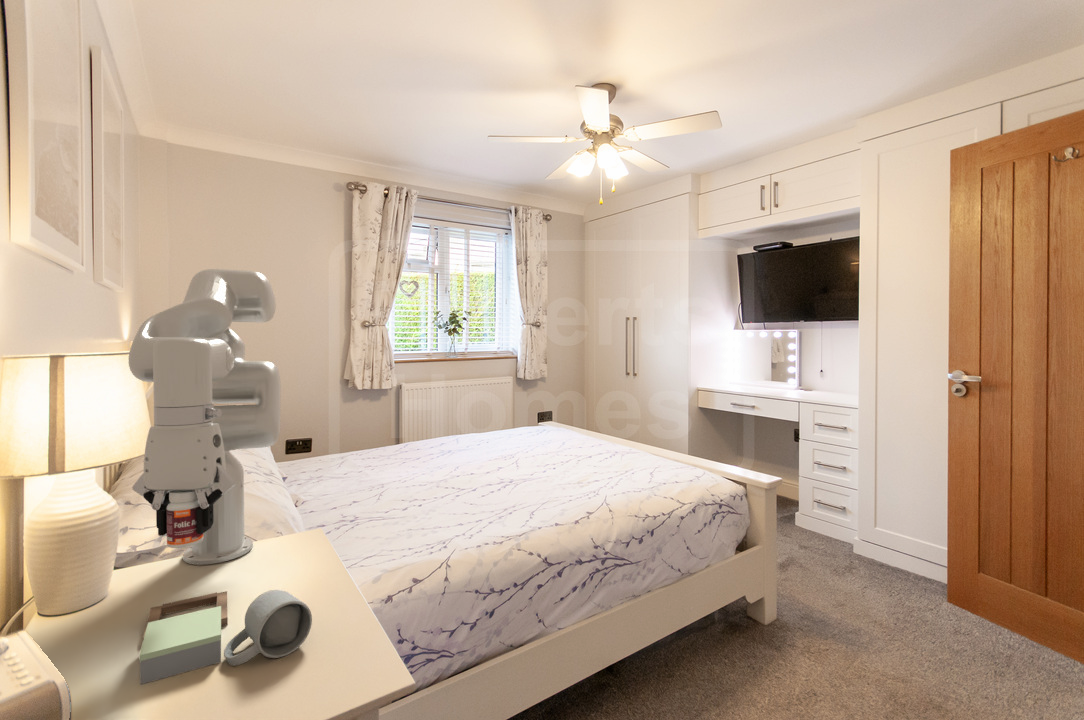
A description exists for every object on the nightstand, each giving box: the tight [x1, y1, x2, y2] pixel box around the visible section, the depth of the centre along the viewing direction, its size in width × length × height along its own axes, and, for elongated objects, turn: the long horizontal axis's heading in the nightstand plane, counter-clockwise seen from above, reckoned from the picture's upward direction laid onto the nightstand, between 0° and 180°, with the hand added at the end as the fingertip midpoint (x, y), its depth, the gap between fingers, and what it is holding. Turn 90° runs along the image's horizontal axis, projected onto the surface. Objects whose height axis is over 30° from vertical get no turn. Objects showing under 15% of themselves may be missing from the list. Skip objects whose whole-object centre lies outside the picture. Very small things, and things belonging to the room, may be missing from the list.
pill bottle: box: [166, 490, 203, 549], centre depth 79 cm, size 5×5×8 cm
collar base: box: [142, 590, 229, 641], centre depth 82 cm, size 11×11×1 cm
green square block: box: [139, 606, 222, 685], centre depth 73 cm, size 9×9×4 cm
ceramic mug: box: [223, 589, 313, 667], centre depth 75 cm, size 11×8×8 cm
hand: (185, 530), depth 79 cm, fingers closed on pill bottle, 4 cm apart
